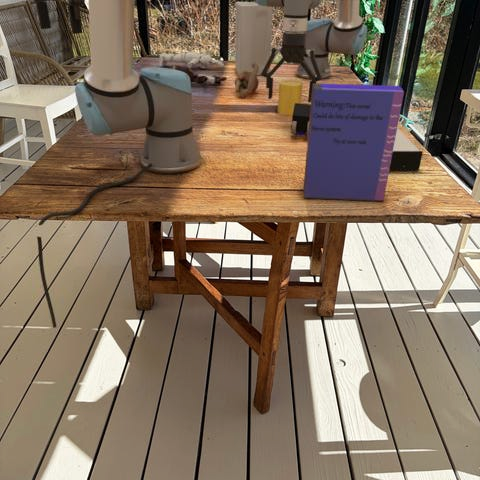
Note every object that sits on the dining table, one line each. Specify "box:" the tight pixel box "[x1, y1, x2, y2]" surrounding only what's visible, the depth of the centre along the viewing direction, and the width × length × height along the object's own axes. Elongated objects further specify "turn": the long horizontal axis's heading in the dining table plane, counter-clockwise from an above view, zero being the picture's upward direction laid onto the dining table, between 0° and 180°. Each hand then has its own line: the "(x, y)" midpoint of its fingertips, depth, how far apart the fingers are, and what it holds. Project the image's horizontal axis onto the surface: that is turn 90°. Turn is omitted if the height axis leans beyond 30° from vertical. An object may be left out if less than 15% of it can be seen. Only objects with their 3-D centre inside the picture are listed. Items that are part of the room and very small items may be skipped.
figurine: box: [172, 64, 228, 85], centre depth 193 cm, size 24×8×30 cm
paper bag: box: [234, 1, 274, 77], centre depth 210 cm, size 19×15×28 cm
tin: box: [277, 79, 304, 116], centre depth 162 cm, size 8×8×10 cm
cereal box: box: [302, 83, 405, 202], centre depth 102 cm, size 17×5×24 cm, turn 86°
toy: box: [158, 51, 225, 70], centre depth 222 cm, size 24×25×7 cm
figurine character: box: [290, 103, 311, 140], centre depth 143 cm, size 7×8×15 cm
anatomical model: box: [234, 63, 260, 99], centre depth 181 cm, size 13×9×15 cm
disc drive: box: [389, 127, 424, 172], centre depth 128 cm, size 18×22×5 cm
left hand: (61, 31), depth 128 cm, fingers open, 13 cm apart
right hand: (289, 99), depth 162 cm, fingers open, 13 cm apart
